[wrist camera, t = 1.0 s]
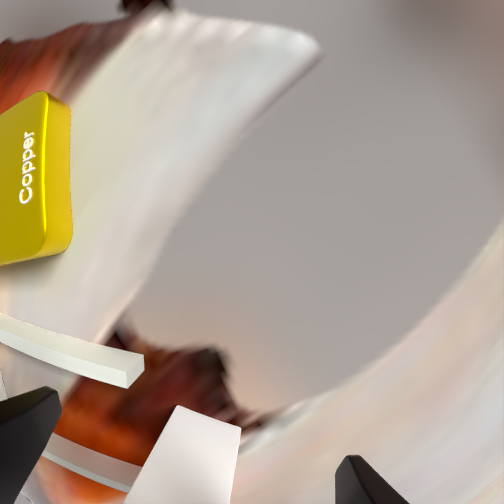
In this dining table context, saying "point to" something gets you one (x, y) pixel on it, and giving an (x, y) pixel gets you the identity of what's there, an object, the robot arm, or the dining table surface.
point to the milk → (189, 462)
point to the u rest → (87, 364)
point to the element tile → (35, 179)
